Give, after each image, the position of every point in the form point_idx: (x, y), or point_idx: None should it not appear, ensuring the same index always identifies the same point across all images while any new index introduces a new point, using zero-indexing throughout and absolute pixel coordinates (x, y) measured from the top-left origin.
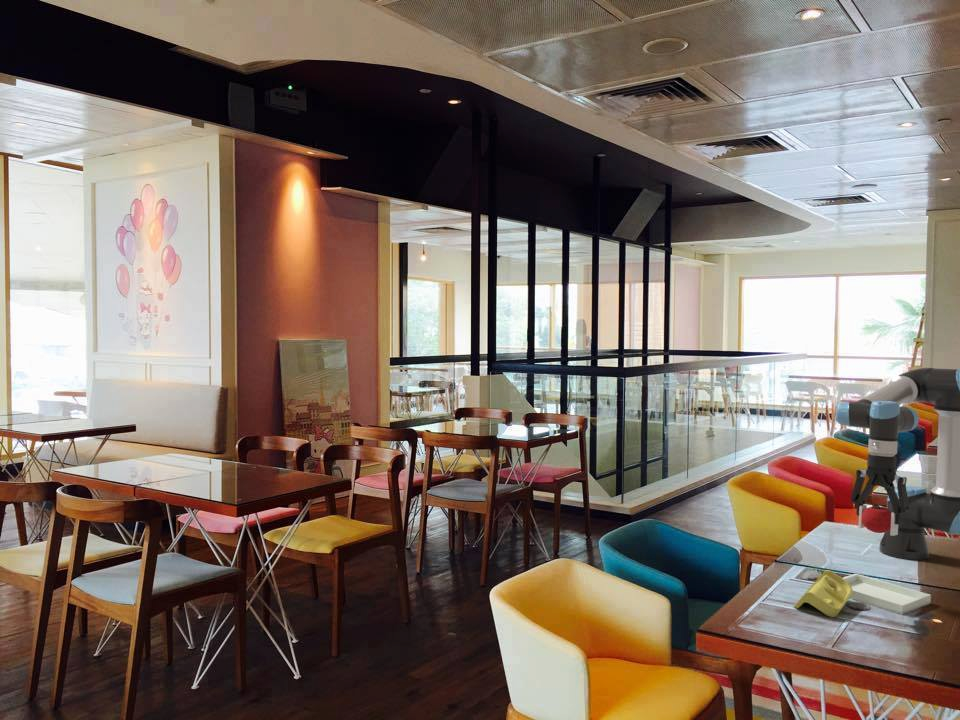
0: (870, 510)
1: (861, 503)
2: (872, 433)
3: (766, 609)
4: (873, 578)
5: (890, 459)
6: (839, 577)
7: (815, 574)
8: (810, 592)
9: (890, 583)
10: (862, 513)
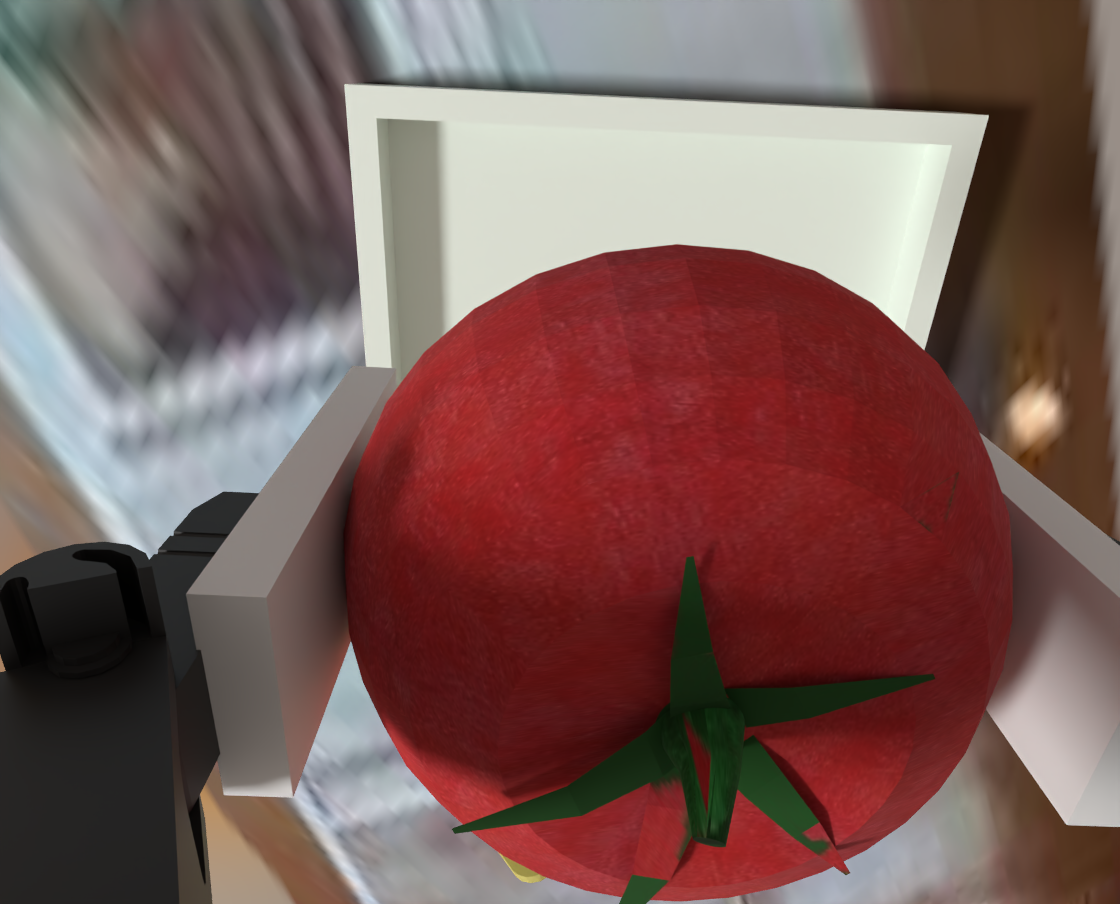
0: (603, 893)
1: (187, 782)
2: None
3: (405, 865)
4: (508, 92)
5: None
6: None
7: (95, 192)
8: (536, 880)
9: (660, 105)
10: (338, 631)
